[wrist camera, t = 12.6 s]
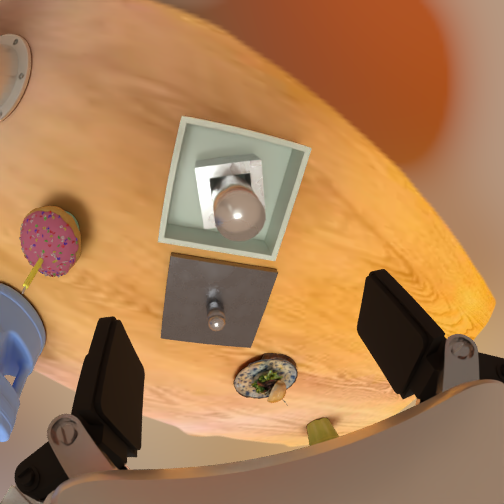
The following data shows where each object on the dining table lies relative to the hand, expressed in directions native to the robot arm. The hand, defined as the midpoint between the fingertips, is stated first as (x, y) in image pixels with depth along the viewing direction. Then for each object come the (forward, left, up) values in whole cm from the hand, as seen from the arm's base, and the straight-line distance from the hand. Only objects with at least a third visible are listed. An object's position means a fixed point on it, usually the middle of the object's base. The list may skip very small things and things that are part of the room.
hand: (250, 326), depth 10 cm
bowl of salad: (+16, -33, -25) cm, 44 cm away
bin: (+2, -1, -25) cm, 25 cm away
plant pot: (+37, -54, -25) cm, 70 cm away
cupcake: (-18, -10, -25) cm, 32 cm away
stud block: (+4, -18, -25) cm, 31 cm away
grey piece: (+2, -1, -24) cm, 24 cm away
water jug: (-31, -29, -25) cm, 49 cm away
